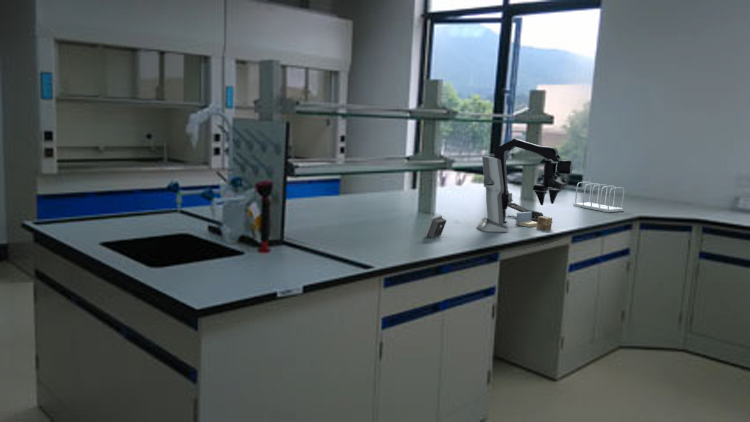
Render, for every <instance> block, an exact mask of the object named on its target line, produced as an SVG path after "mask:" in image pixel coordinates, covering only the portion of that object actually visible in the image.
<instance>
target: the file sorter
mask: <svg viewBox="0 0 750 422" xmlns="http://www.w3.org/2000/svg"><path fill="white" fill-rule="evenodd" d="M583 183H585V185H584V190H583V198H582V202H577V196H578V187H579V184H583ZM587 186H589V188H590V190H589V195H588V196H589V197H588V201H587V202H585V197H586V187H587ZM592 186H593V187H592ZM601 186H603V187H602V188H601V189H600V187H601ZM595 187H598V190H597V199H596V203H595V202H593V200H594V199H593V198H594V189H595ZM610 187H611V188H610ZM604 188H606V189H605V198H604V204H601V203H602V198H603V197H602V195H603V190H604ZM608 188H610V190H609V195H608ZM613 189H614V191H613V202H612V206H610V199H611V193H612V190H613ZM617 189H623V190H622V191H623V192H622V198H621V207H618V206H617V207H616V206H615V199H616V190H617ZM600 191H601V192H600ZM599 195H600V199H599ZM607 195H608V202H607ZM624 197H625V188H624V187H621V186H617V187H616V186H615V185H613V184H612V185H608V184H607V183H606V184H605V183H603V184H600V183H599V182H595V183H593V182H591V181H580V182H579V181H578V183H577V184H576V190H575V198H574V200H575V201H574V202H573V204H572V205H573V207H576V208H577V207H578V208H584V209H589V210H596V211H599V212H604V213H613V212H614V213H615V212H616V213H617V212H624V210H625V209H624V208H623V205H624ZM598 202H599V203H598ZM606 204H607V205H606Z"/></svg>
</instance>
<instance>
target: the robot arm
mask: <svg viewBox="0 0 750 422" xmlns="http://www.w3.org/2000/svg"><path fill="white" fill-rule="evenodd" d="M516 148H518V149H521V150H525V151H528V152H530V153H531V152H532V153H535V154H537V155H540V156H541V157H543V159H542V160H541V161H540V162H539V163H540V164H544V165H543V174H541V177H542V182H541V183H539V184H537V183H536V184H534V185H532V190H533V192H534V193H535V195H536V197H537V199H538V202H539V203H540V206H544V203H545V202H544V201H545V196H546V195H547V193H548V195H549V200H550V204H554V203H555V201H556V199H557V197H558V194H559V193H561V192H562V191H563V190H565V187H567V186H568V180H567V179H566V178H562V179H559V178H558V175H557V173H556V172H558V174H561V175H572V173H573V168H574V167H573V160H570V159H569V160H565V159H564V160H563V159H562V158H561V157H560V155H559V150H558V148H556V147H554V146H546V145H545V146H544V145H543V146H542V145H538V144H534V143H531V142H528V141H525V140H523V139H522V140H521V139H520V138H513V139H511V140H509V141H506V142H505V143H503V144H499V145H496V146H494V147H493V151H492V152H493V155H494V158H497V159H499V160H501V166H502V175H503V183H504V193H503V194H502V210H503V224H506V223H508V221H507V220H506V215H507V212H506V211H507V209H508V208H510V207H509V206H510V205H511V203H513V201H514V200H513V192H510V191H509V187H508V173H507V171H508V169H507V161H508V155H509V152H510V151H512V150H513V149H516Z"/></svg>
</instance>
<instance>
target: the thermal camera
mask: <svg viewBox="0 0 750 422" xmlns="http://www.w3.org/2000/svg"><path fill="white" fill-rule="evenodd" d="M481 161H482V170H483V187H484V188H485V203H486V214H487V215H486V217H483V218H481V220H480V221H479V222H478V224H477V225H476V229H477V230H479V231H481V232H485V233H508V227H507V226H505V225H504V224H505V223H503V210H502V194H503V193H504V183H503V175H502V166H501V160H499V159H497V158H495V157H493V156H488V155H482V160H481Z"/></svg>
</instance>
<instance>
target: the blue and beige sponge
mask: <svg viewBox="0 0 750 422" xmlns="http://www.w3.org/2000/svg"><path fill="white" fill-rule="evenodd" d="M531 217H532V212H516V221H515V225H516V226H523V227H527V228H531V227H537V222H534V221H531Z"/></svg>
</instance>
